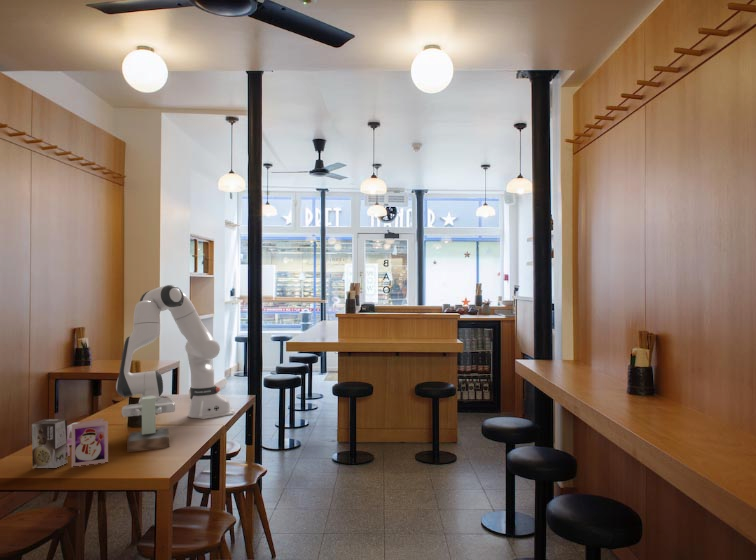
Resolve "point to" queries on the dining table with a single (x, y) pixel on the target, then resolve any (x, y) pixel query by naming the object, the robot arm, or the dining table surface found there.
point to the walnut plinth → (148, 440)
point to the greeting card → (90, 442)
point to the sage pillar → (148, 415)
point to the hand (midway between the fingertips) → (148, 412)
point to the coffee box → (49, 443)
